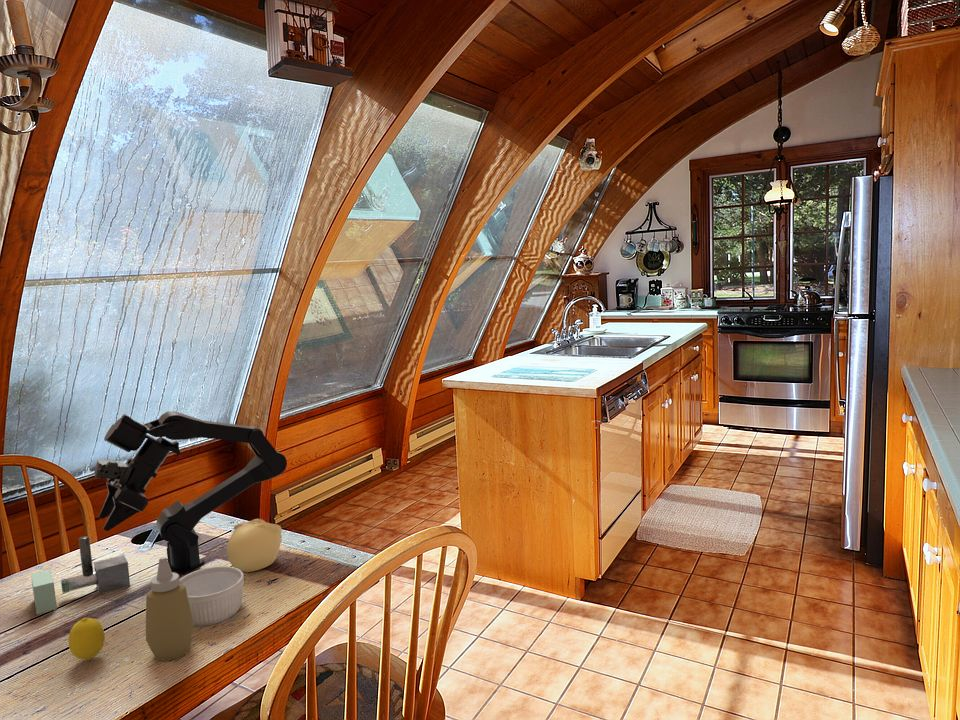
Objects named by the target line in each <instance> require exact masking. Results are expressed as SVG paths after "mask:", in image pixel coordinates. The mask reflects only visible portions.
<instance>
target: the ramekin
mask: <svg viewBox="0 0 960 720" xmlns="http://www.w3.org/2000/svg"><path fill="white" fill-rule="evenodd" d="M244 579H245V577H244V571H241V570H239V569H237V568H234V567H233V566H229V565H228V566H225V565H224V566H221V565H219V566H218V565H217V566H210V567H205V568H200V569H198V570H195V571H192V572H189V573H186V575H184V576H182V577H181V578H179V580H180V584H183V585H184V586H185V587H186V591H187V595H188V600H189V605H190V609H191V614H192V619H193V623H194V626H197V627H198V626H199V627H203V626H211V625H215V624H218V623H222V622H224V621H227V620H229V619H231V618H233V616H234V615H236V614H237V613H238V611H239V609H241V606H242V602H243V586H244V585H243V584H244V583H245V580H244Z"/></svg>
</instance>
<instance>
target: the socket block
mask: <svg viewBox="0 0 960 720" xmlns="http://www.w3.org/2000/svg"><path fill="white" fill-rule="evenodd" d="M30 576H31V584H32V585H31V586H32V594H33V600H34V605H35V611H36V615H42V614H45V612H46V613H48V612H51V611H52V610H53V611H56V610H58V606H57V598H56V597H57V596H56V591H55V582H54V578H53V574H52V570H51V568H49V569H44V570H41V571H35V572H33V573H31V574H30ZM53 611H52V612H53Z"/></svg>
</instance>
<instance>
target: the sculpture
mask: <svg viewBox="0 0 960 720" xmlns="http://www.w3.org/2000/svg"><path fill="white" fill-rule="evenodd" d="M233 530H234V531H233V532H232V533H231V535H230V537H229V538H228V541H227V544H226V557H227V559H228V561H229V563H230V564H231V565H230V566H231V567H234V568H237V569H239V570H241V571H242V572H244V573H245V572H247V573H248V572H255V571H259V570H262V569H265V568H266V567H268V566H270V565H272V564H273V563H274V562H275V561H276V560H277V557H278V555H279V551H280V547H281V544H282V541H283V539H282V538H283V536H282V527H281V525H279V524H276V523H271V522H267V521H265V520H264V519H261V518H254V519H252V520H249V521H246V522H240V523H238V524H235V525H234V526H233Z"/></svg>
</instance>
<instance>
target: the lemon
mask: <svg viewBox="0 0 960 720" xmlns="http://www.w3.org/2000/svg"><path fill="white" fill-rule="evenodd" d="M105 639H106V638H105V631H104V627H103V625H102V623H101V622H100V621H99V620H97V619H96V618H93V617H92V618H91V617H83V618H81V619H80V620H78V621H77V622H76V623H75V624H73V626H72V627H71V629H70V631H69V635H68V647H69V648H68V649H69V650H70V652H71V654H72V656H74V657H75V658H76V659H80V660H87V661H90V660H92V658H93V657H95V656H96V655H98V654H99V653H100V652H101V650H102V649H103V648H104V647H103V646H104V643H105Z"/></svg>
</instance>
